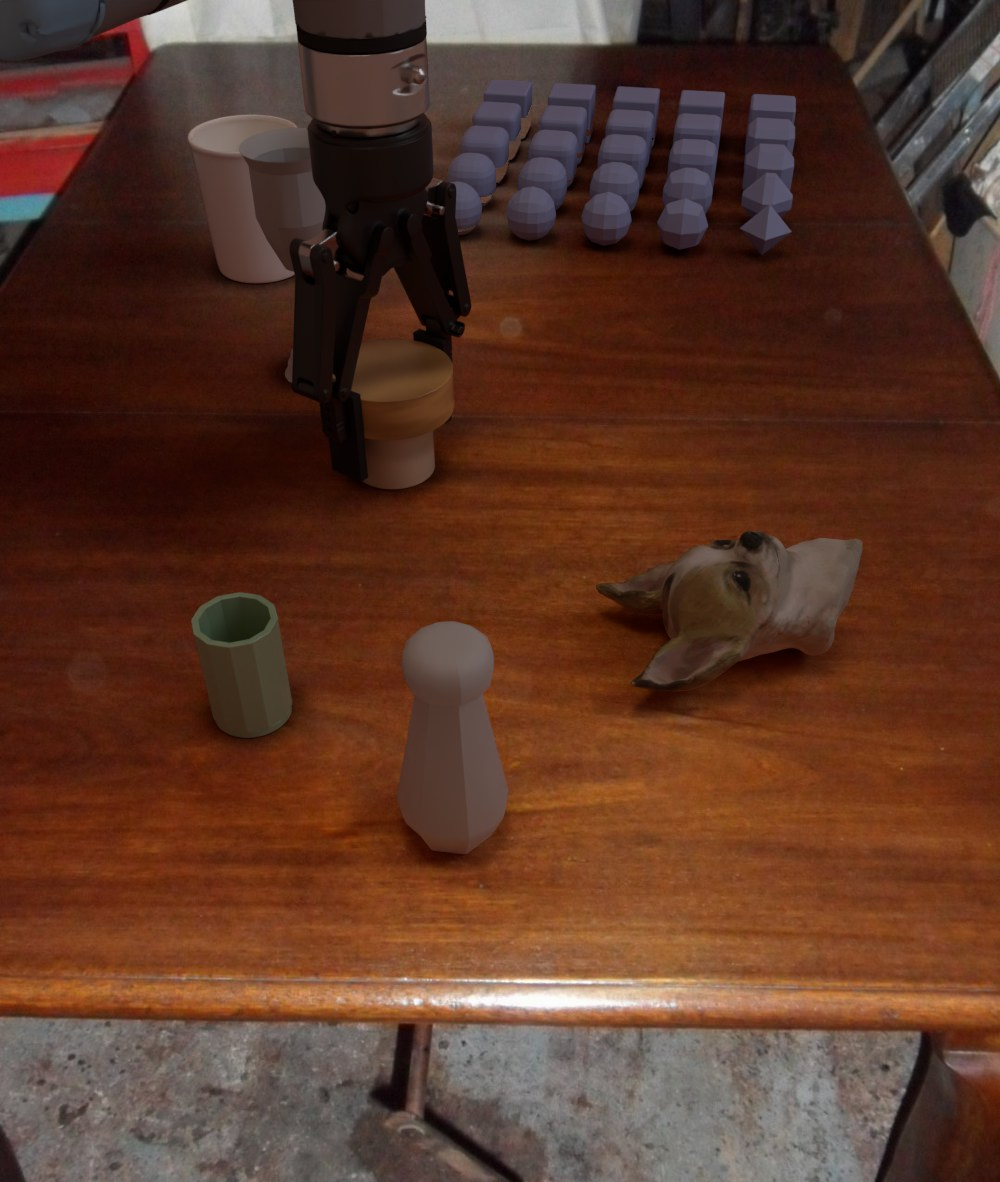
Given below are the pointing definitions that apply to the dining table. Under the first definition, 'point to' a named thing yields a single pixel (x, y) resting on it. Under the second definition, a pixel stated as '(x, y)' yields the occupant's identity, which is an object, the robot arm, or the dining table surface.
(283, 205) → the chalice
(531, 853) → the dining table surface
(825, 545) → the ceramic sculpture
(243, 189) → the white tapered vessel
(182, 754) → the dining table surface
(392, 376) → the wooden disc
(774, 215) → the blocks
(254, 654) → the cup
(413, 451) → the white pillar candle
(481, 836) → the salt shaker
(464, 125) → the dining table surface
